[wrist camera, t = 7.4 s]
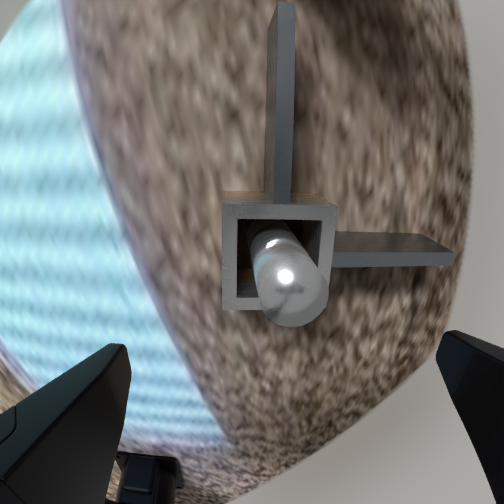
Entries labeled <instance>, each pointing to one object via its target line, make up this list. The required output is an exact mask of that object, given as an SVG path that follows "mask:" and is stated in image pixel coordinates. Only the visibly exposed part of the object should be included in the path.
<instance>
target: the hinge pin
mask: <svg viewBox="0 0 504 504" xmlns="http://www.w3.org/2000/svg"><path fill="white" fill-rule="evenodd" d="M247 242H248V247H249V252H250V257H251V262H252V267H253V272H254V277H255V282H256V286H257V291H258V296H259V301H260V306H261V309H262V311H263V313H264V315H265V316H266V317H267V318H268V319H269V320H270V321H271V322H273V323H275V324H277V325H279V326H283V327H298V326H302V325H305V324H307V323H309V322H311V321H313V320H314V319H315V318H317V317H318V316H319V315H320V313H321V312H322V311H323V309H324V308H325V306H326V304H327V301H328V296H329V289H328V284H327V282H326V279H325V278H324V276H323V275H322V273H321V272H320V270H319V269H318V268H317V266H316V265H315V263H314V262H313V261H312V259H311V258H310V256H309V255H308V254H307V252H306V251H305V249H304V248H303V247H302V245H301V244H300V242H299V241H298V240H297V238H296V237H295V235H294V234H293V233H292V231H291V230H290V229H289V227H288V226H287V224H286V223H285V222H284V221H283V220H281V219H257V220H255V221H254V222H253V223H252V224H251V226H250V227H249V229H248V233H247Z"/></svg>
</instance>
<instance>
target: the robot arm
mask: <svg viewBox="0 0 504 504" xmlns="http://www.w3.org/2000/svg"><path fill="white" fill-rule="evenodd" d="M436 361H437V364H438V366H439V369H440V372H441V374H442V376H443V379H444V381H445V384H446V386H447V389H448V392H449V394H450V397H451V399H452V401H453V404H454V406H455V408H456V409H457V412H458V414H459V416H460V418H461V420H462V422H463V424H464V426H465V429H466V431H467V433H468V435H469V437H470V439H471V442H472V444H473V446H474V448H475V451H476V453H477V455H478V458H479V460H480V462H481V465H482V467H483V470H484V472H485V474H486V477H487V480H488V482H489V485H490V487H491V490H492V493H493V495H494V498H495V501H496V504H504V348H501V347H498V346H496V345H493V344H491V343H488V342H486V341H483V340H481V339H478V338H475V337H473V336H470V335H468V334H465V333H462V332H460V331H457V330H452V331H447V332H445V333H444V334H443V336H442V339H441V342H440V344H439V347H438V350H437V353H436ZM130 382H131V366H130V362H129V357H128V352H127V348H126V346H125V345H124V344H116V343H110V344H108V345H106V346H105V347H103V348H102V349H100V350H99V351H97V352H95V353H94V354H92V355H91V356H89V357H88V358H86V359H85V360H83V361H82V362H80V363H79V364H77V365H75V366H74V367H72V368H71V369H69V370H68V371H66V372H65V373H63V374H62V375H60V376H58V377H57V378H55V379H54V380H52V381H51V382H49V383H48V384H46V385H45V386H43V387H42V388H40V389H38V390H37V391H35V392H34V393H32V394H31V395H29V396H28V397H26V398H25V399H23V400H22V401H20V402H18V403H17V404H16V406H15V405H14V406H12V407H11V408H9V409H8V410H6V411H4V412H3V413H1V414H0V504H174V500H175V489H183V486H184V485H183V481H182V478H181V474H180V471H179V467H178V464H177V460H176V459H175V458H172V457H161V456H150V455H141V454H133V453H125V452H118V451H117V449H118V445H119V441H120V438H121V434H122V430H123V426H124V420H125V414H126V407H127V401H128V394H129V388H130ZM115 460H116V462H117V464H118V466H119V468H120V470H121V472H122V474H121V478H120V482H119V487H118V491H117V496H116V501H115V502H114V501H111V500H108V498H106V494H107V490H108V485H109V481H110V477H111V473H112V469H113V465H114V461H115Z"/></svg>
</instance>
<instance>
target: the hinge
mask: <svg viewBox="0 0 504 504" xmlns="http://www.w3.org/2000/svg"><path fill="white" fill-rule="evenodd" d="M294 84H295V3H288V2H278V3H277V6H276V8H275V11H274V14H273V16H272V19H271V22H270V24H269V27H268V50H267V90H266V126H265V159H264V190H263V192H233V191H223V200H222V306H223V310H262V309H261V306H260V301H259V296H258V291H257V286H256V282H255V277H254V272H253V268H237V219H290V220H302V233H301V245H302V247H303V248H304V249H305V251H306V252H307V254H308V255H309V256H310V258H311V259H312V261H313V262H314V263H315V265H316V266H317V268H318V269H319V270H320V272H321V273H322V275H323V276H324V278H325V279H326V282H327V284H328V289H329V281H330V273H331V267H394V266H440V265H452V262H453V257H454V252H453V251H451V250H449V249H447V248H446V247H444V246H442V245H440V244H439V243H437V242H435V241H433V240H431V239H429V238H428V237H426V236H424V235H422V234H411V233H378V232H335V226H336V215H337V206H336V205H334V204H333V203H331V202H329V201H327V200H326V199H324V198H322V197H320V196H319V195H317V194H313V193H291V176H292V153H293V124H294ZM325 308H326V306H325Z"/></svg>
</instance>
